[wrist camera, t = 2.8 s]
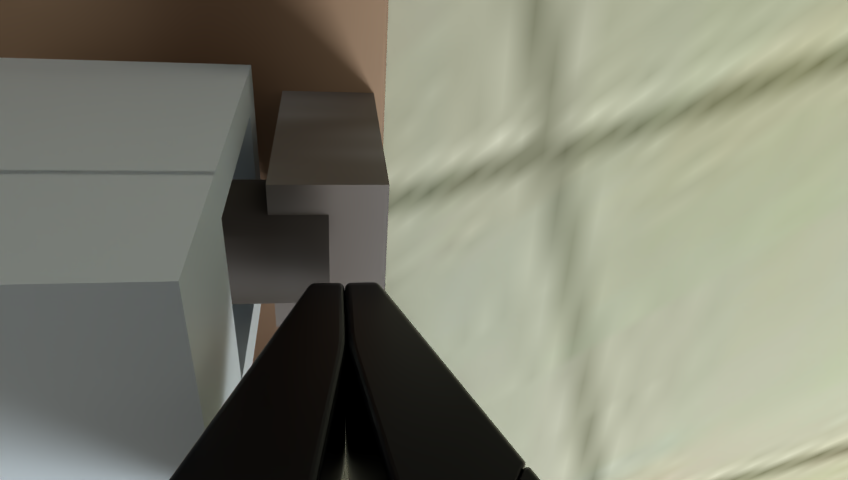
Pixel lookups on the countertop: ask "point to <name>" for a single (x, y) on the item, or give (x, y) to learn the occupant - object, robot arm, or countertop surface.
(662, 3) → the countertop surface
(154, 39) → the dumbbell on board
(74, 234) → the white sleeve
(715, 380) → the countertop surface
